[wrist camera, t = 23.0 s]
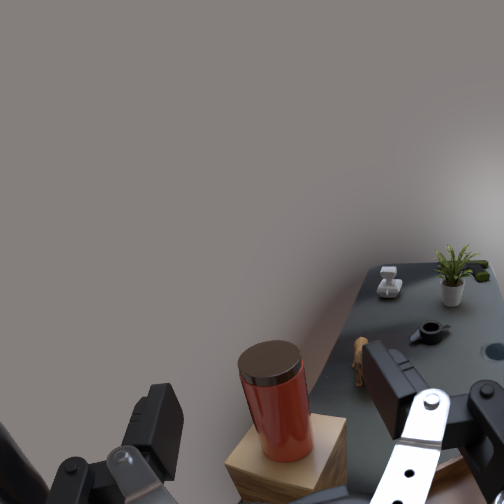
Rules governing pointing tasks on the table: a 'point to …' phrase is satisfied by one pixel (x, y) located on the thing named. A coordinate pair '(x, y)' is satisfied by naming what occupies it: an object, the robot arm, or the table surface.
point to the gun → (474, 268)
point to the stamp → (389, 283)
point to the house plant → (452, 277)
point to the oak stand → (281, 494)
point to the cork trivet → (294, 473)
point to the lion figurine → (358, 359)
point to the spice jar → (278, 399)
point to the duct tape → (429, 332)
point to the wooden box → (454, 484)
